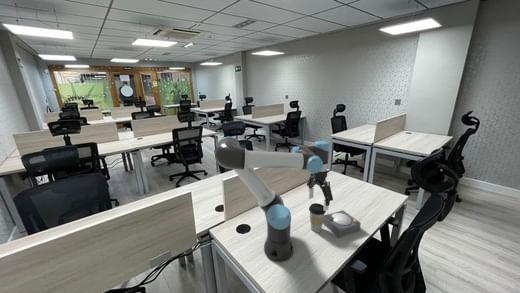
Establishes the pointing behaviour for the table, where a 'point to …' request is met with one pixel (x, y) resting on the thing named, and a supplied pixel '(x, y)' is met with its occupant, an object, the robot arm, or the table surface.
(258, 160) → the robot arm
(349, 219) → the grey dome button box
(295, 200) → the table surface
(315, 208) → the coffee cup
